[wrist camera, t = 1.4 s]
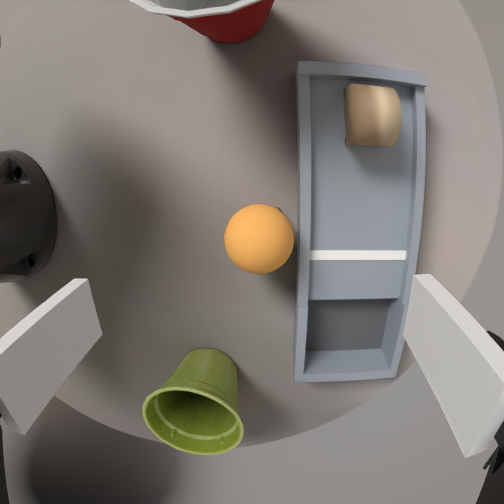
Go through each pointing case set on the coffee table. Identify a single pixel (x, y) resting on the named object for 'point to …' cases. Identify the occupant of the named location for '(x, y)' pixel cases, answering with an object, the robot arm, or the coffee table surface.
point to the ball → (259, 239)
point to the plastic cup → (215, 16)
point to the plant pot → (197, 405)
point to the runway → (355, 226)
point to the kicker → (372, 115)
